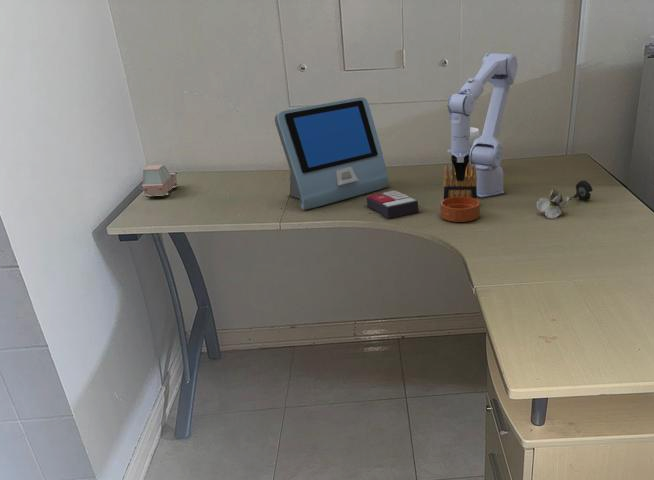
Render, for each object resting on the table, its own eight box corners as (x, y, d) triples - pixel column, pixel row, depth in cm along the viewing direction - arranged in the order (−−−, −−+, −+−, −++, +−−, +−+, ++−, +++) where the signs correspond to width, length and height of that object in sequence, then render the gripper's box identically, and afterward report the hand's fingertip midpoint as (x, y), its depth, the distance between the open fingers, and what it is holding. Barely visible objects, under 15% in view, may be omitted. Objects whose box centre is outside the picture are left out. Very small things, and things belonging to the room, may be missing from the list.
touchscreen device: (307, 212, 205) (294, 115, 191) (276, 201, 218) (261, 109, 204) (391, 188, 225) (385, 98, 210) (358, 179, 238) (350, 94, 224)
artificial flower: (596, 206, 207) (604, 179, 200) (548, 230, 197) (554, 203, 190) (575, 193, 212) (583, 166, 204) (527, 216, 201) (533, 189, 194)
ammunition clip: (476, 200, 206) (477, 162, 200) (476, 201, 205) (477, 164, 199) (443, 200, 207) (443, 163, 201) (443, 202, 205) (443, 164, 199)
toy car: (182, 186, 235) (176, 158, 230) (169, 199, 222) (162, 170, 217) (156, 187, 235) (150, 159, 230) (142, 200, 222) (134, 171, 217)
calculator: (395, 189, 212) (418, 198, 201) (396, 201, 214) (418, 212, 203) (365, 195, 208) (387, 205, 196) (367, 208, 210) (388, 218, 198)
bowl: (466, 207, 206) (466, 194, 203) (486, 218, 196) (487, 204, 194) (433, 214, 201) (433, 200, 199) (453, 226, 192) (453, 211, 189)
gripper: (447, 130, 202) (448, 173, 209) (447, 141, 189) (447, 186, 196) (470, 130, 202) (469, 172, 208) (470, 141, 189) (470, 186, 196)
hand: (460, 179), depth 202 cm, fingers closed on ammunition clip, 2 cm apart
